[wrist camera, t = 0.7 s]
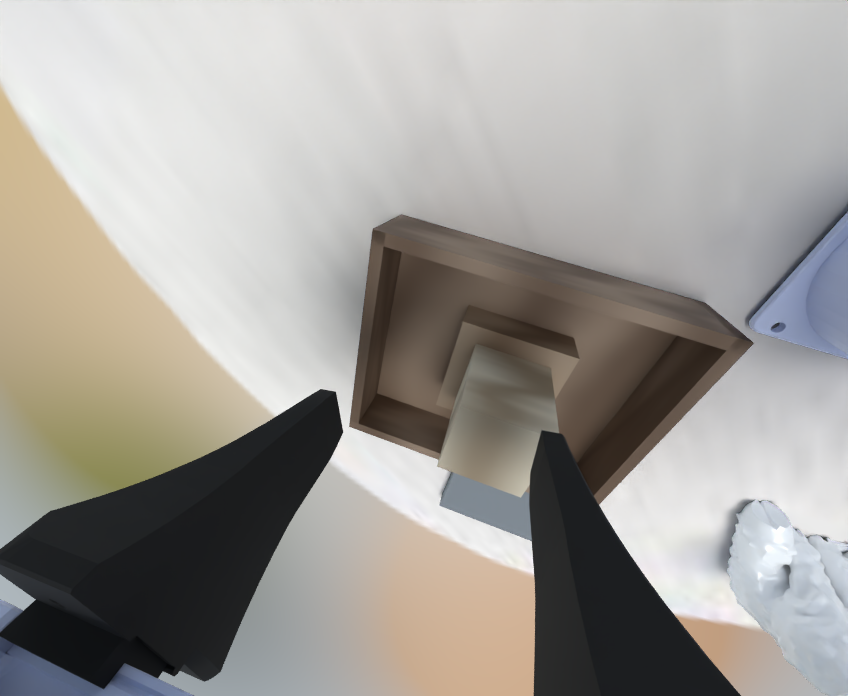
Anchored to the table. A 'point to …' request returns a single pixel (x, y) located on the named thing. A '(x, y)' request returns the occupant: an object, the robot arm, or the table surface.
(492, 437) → the metal block
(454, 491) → the slate mat
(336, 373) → the table surface
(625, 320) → the walnut crate
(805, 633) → the white creature statuette
